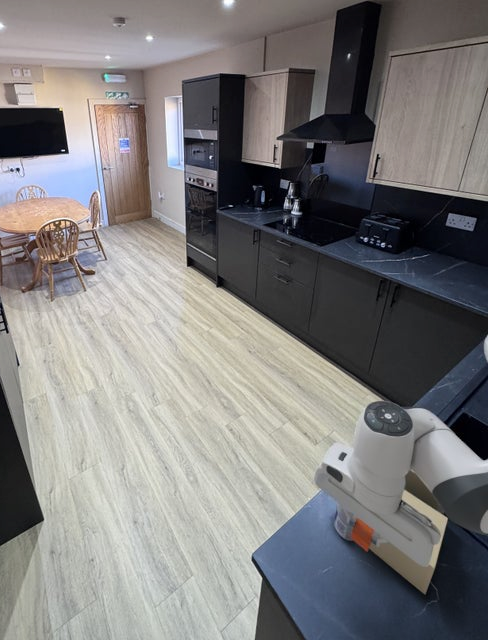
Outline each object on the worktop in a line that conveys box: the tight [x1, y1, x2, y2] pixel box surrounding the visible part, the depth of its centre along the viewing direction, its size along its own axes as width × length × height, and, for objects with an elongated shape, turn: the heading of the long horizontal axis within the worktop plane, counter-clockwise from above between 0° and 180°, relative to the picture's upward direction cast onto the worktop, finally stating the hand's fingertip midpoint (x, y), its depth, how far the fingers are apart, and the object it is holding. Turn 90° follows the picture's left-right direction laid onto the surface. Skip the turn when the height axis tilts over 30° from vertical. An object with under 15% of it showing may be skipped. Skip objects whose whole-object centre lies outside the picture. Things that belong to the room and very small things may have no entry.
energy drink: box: [333, 502, 354, 542], centre depth 75 cm, size 5×5×12 cm
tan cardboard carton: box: [369, 489, 449, 595], centre depth 72 cm, size 13×12×9 cm
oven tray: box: [404, 470, 445, 515], centre depth 79 cm, size 16×10×7 cm, turn 133°
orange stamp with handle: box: [350, 518, 374, 553], centre depth 65 cm, size 8×3×2 cm, turn 133°
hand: (363, 531), depth 64 cm, fingers closed on orange stamp with handle, 3 cm apart
